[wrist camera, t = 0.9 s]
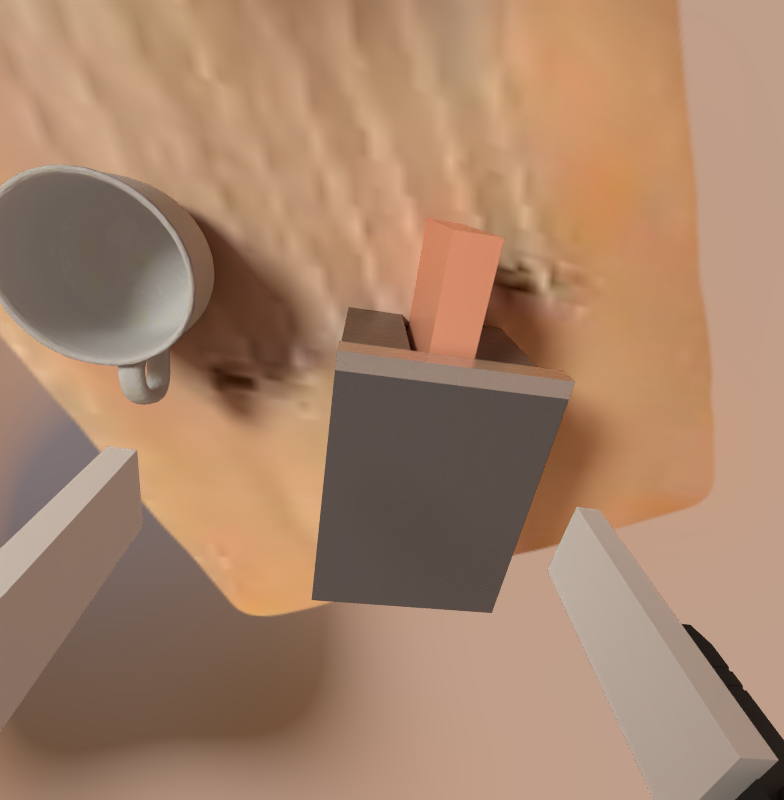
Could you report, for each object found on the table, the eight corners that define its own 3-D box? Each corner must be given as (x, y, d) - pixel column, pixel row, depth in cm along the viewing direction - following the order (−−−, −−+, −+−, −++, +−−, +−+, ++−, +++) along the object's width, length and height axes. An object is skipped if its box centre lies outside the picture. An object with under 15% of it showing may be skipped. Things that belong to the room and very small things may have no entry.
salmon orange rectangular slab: (427, 218, 30) (453, 229, 20) (461, 224, 30) (504, 238, 20) (400, 375, 35) (410, 445, 25) (429, 378, 35) (452, 449, 26)
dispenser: (350, 294, 32) (337, 350, 20) (504, 316, 33) (575, 381, 22) (330, 479, 39) (311, 599, 28) (457, 492, 40) (491, 612, 29)
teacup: (59, 160, 28) (-52, 148, 21) (230, 184, 29) (182, 181, 22) (94, 361, 34) (18, 406, 26) (236, 375, 35) (199, 423, 27)
